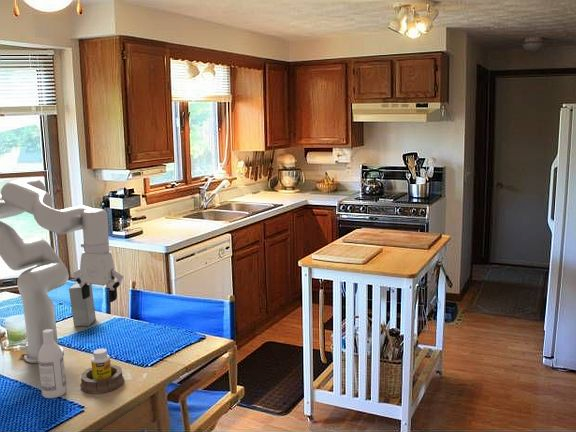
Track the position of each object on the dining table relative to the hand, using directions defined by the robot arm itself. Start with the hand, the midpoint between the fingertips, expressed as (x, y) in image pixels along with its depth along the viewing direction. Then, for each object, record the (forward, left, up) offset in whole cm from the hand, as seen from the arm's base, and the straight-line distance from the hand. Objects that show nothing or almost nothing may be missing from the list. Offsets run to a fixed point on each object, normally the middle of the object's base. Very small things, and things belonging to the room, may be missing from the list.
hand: (99, 299), depth 187 cm
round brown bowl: (+5, -11, -24) cm, 26 cm away
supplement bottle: (+5, -11, -23) cm, 26 cm away
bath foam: (-7, -19, -24) cm, 31 cm away
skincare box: (-29, +36, -24) cm, 52 cm away
